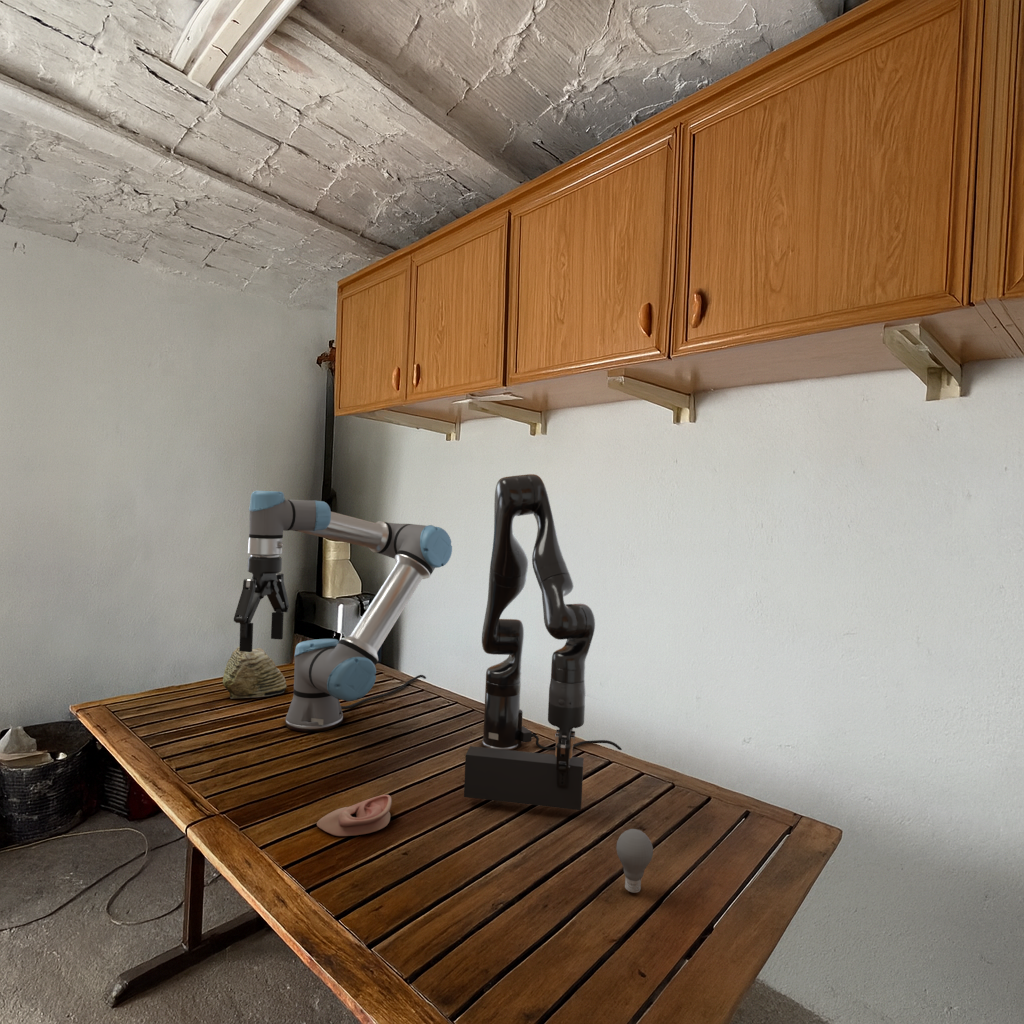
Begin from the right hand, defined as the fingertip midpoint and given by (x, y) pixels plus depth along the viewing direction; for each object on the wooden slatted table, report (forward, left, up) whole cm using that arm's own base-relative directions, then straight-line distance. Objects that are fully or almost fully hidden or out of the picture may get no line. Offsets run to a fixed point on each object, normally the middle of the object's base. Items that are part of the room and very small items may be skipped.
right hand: (563, 781), depth 131 cm
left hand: (+54, -50, +21) cm, 77 cm away
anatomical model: (+40, -12, -7) cm, 42 cm away
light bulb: (+3, +27, -7) cm, 28 cm away
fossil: (+50, -101, -7) cm, 113 cm away
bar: (+7, -5, -4) cm, 9 cm away
